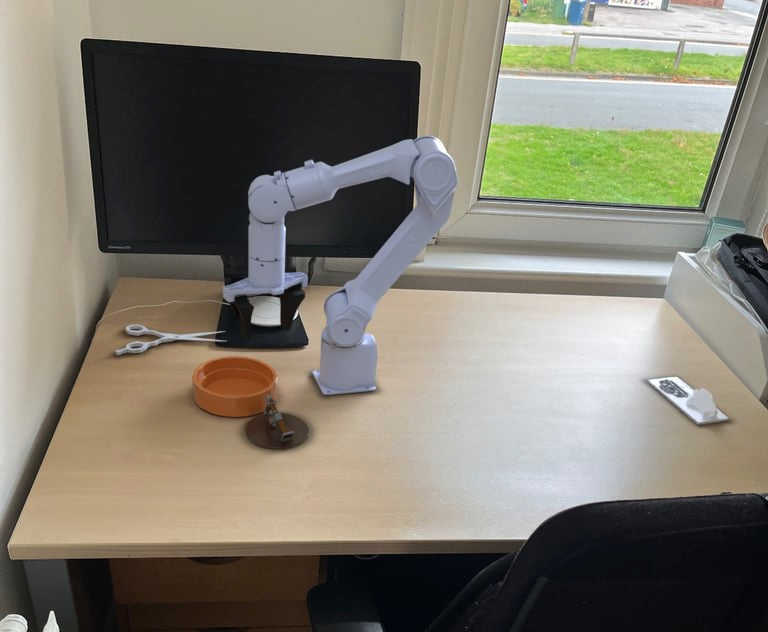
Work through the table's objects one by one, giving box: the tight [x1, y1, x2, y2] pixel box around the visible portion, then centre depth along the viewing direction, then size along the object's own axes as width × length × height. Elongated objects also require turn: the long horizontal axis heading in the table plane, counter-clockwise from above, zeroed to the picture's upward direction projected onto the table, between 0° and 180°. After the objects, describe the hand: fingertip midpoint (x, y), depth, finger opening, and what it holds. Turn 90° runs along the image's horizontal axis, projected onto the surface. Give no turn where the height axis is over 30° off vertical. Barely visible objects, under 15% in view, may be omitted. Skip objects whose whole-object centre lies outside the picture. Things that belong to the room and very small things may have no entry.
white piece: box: [647, 376, 730, 426], centre depth 149 cm, size 15×7×4 cm, turn 20°
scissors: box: [115, 324, 226, 356], centre depth 152 cm, size 11×1×20 cm
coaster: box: [244, 412, 310, 451], centre depth 130 cm, size 10×10×1 cm
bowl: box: [191, 355, 278, 418], centre depth 136 cm, size 14×14×4 cm
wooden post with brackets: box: [262, 395, 294, 442], centre depth 129 cm, size 2×8×4 cm, turn 33°
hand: (265, 332), depth 137 cm, fingers open, 7 cm apart
